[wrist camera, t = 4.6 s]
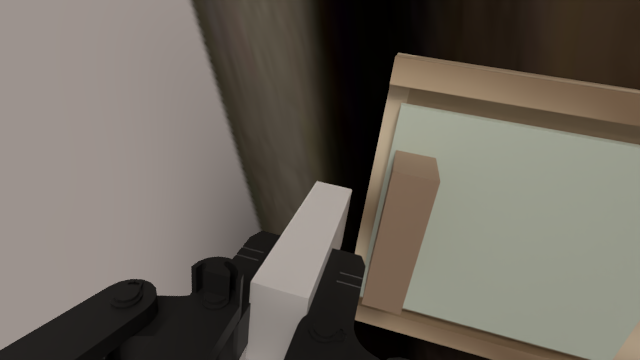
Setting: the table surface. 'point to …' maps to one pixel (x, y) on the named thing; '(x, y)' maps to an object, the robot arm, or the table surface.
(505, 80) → the wooden box
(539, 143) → the lid
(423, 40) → the table surface
